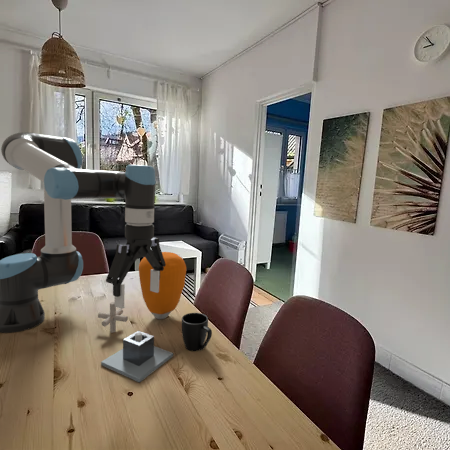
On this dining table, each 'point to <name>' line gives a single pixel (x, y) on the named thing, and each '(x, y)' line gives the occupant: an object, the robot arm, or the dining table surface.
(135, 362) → the collar
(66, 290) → the dining table surface
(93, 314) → the dining table surface
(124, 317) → the light grey toy jack
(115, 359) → the post block
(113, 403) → the dining table surface
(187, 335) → the mug
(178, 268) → the orange egg-shaped ornament
